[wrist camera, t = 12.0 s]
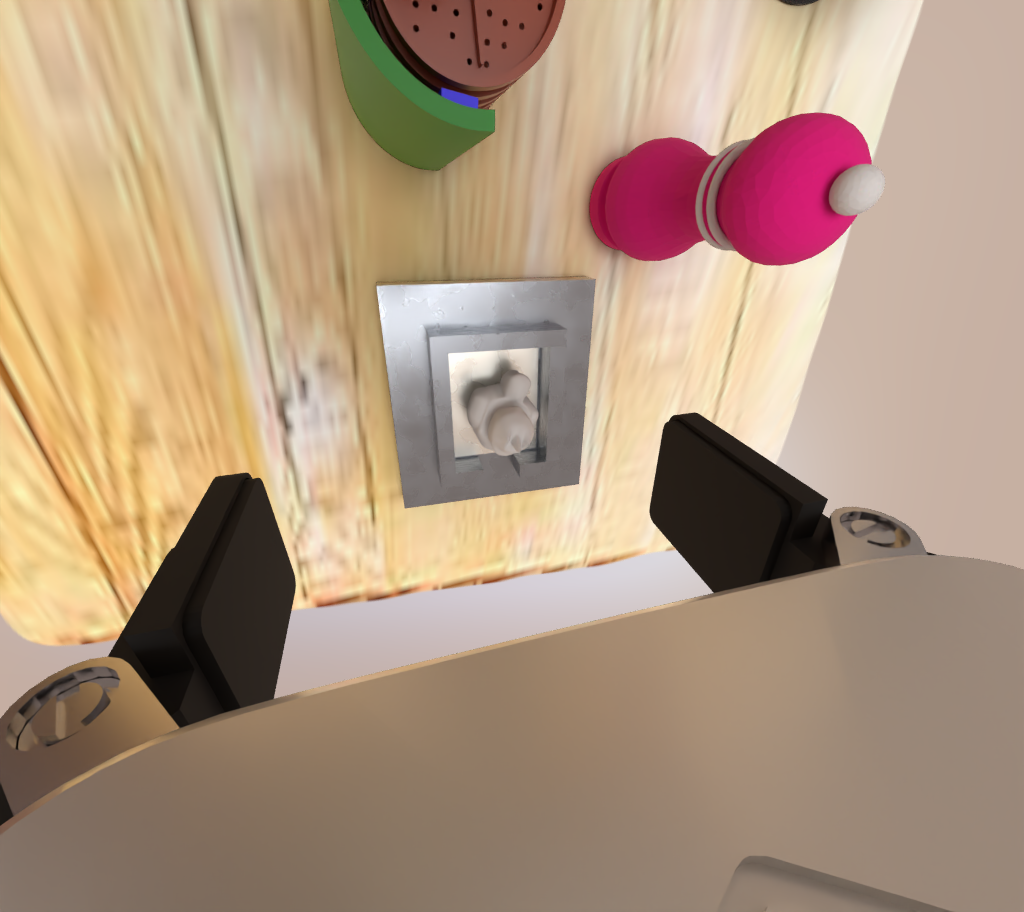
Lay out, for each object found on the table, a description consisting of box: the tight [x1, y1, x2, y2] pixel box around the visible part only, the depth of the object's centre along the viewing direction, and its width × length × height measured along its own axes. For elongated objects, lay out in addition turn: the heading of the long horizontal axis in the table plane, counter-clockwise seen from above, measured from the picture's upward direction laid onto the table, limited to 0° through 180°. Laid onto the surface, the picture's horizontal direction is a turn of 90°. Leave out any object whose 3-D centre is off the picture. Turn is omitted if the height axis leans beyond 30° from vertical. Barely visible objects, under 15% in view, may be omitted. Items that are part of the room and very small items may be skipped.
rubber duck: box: [467, 370, 539, 456], centre depth 33 cm, size 5×7×8 cm
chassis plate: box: [376, 277, 596, 508], centre depth 36 cm, size 18×16×4 cm
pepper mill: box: [590, 113, 885, 265], centre depth 26 cm, size 7×7×20 cm
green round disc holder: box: [329, 0, 565, 170], centre depth 19 cm, size 10×9×20 cm
